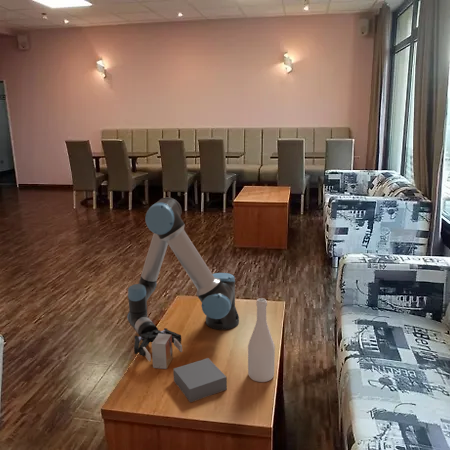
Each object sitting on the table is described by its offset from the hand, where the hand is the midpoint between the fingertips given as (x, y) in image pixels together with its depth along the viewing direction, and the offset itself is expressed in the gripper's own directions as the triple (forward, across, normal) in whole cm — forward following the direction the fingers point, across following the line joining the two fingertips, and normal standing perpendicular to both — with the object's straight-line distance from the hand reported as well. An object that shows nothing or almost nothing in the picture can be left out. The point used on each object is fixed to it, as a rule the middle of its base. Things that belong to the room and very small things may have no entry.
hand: (165, 353), depth 169 cm
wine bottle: (+22, -28, -6) cm, 36 cm away
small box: (-4, 0, -6) cm, 7 cm away
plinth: (+16, -6, -6) cm, 18 cm away
